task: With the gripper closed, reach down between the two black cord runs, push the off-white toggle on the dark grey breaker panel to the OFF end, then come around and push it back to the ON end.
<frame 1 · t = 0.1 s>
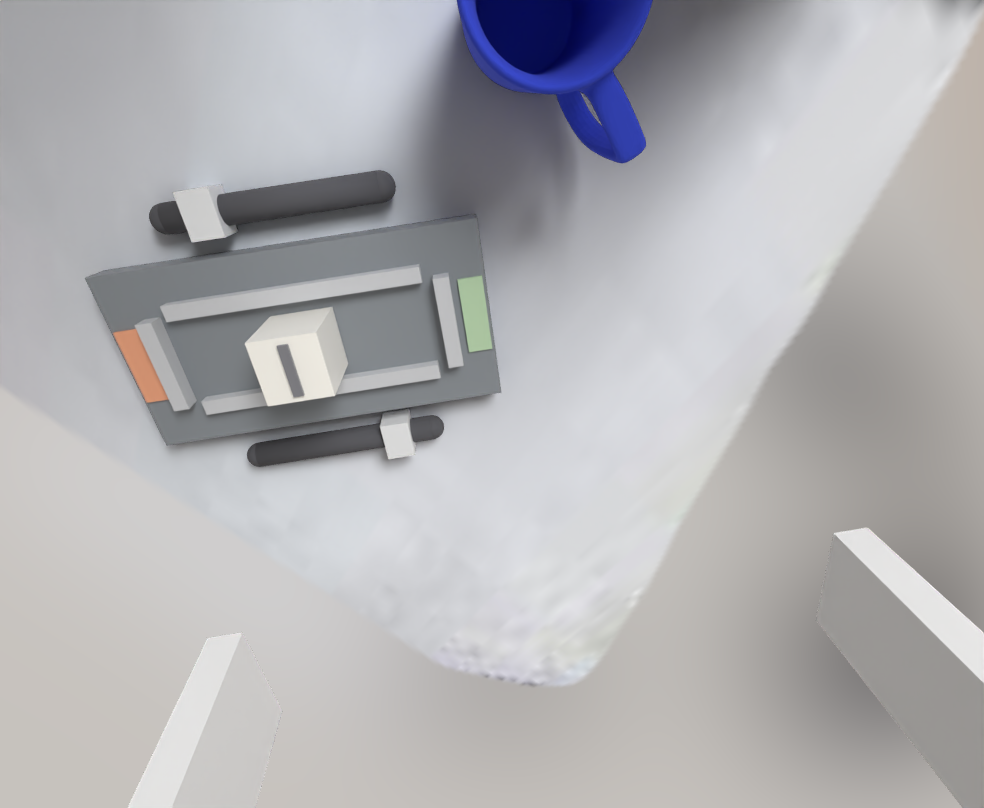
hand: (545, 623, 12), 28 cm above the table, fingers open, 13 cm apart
toggle: (301, 355, 33), point 5 cm above the table, slide at 0.0 cm
mug: (539, 57, 31), on the table
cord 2: (348, 434, 41), on the table
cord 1: (278, 201, 33), on the table
panel: (316, 330, 37), on the table
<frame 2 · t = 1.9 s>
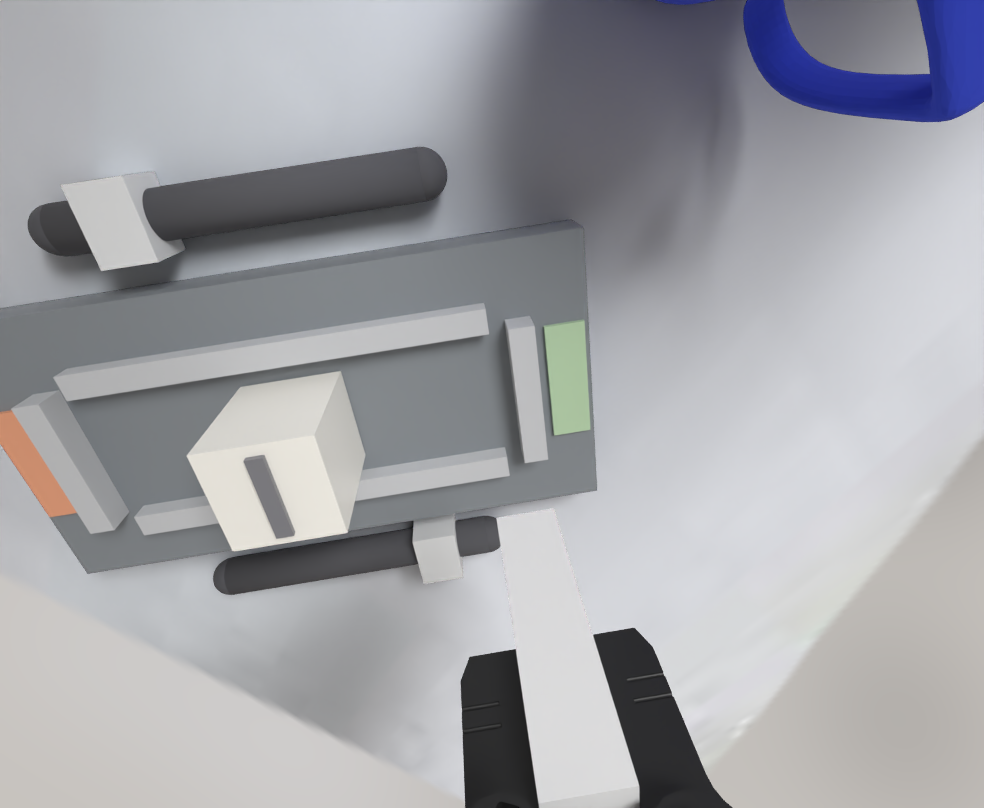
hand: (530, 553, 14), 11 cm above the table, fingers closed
toggle: (289, 456, 20), point 5 cm above the table, slide at 0.0 cm
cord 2: (363, 542, 28), on the table
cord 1: (250, 199, 20), on the table
panel: (316, 399, 24), on the table
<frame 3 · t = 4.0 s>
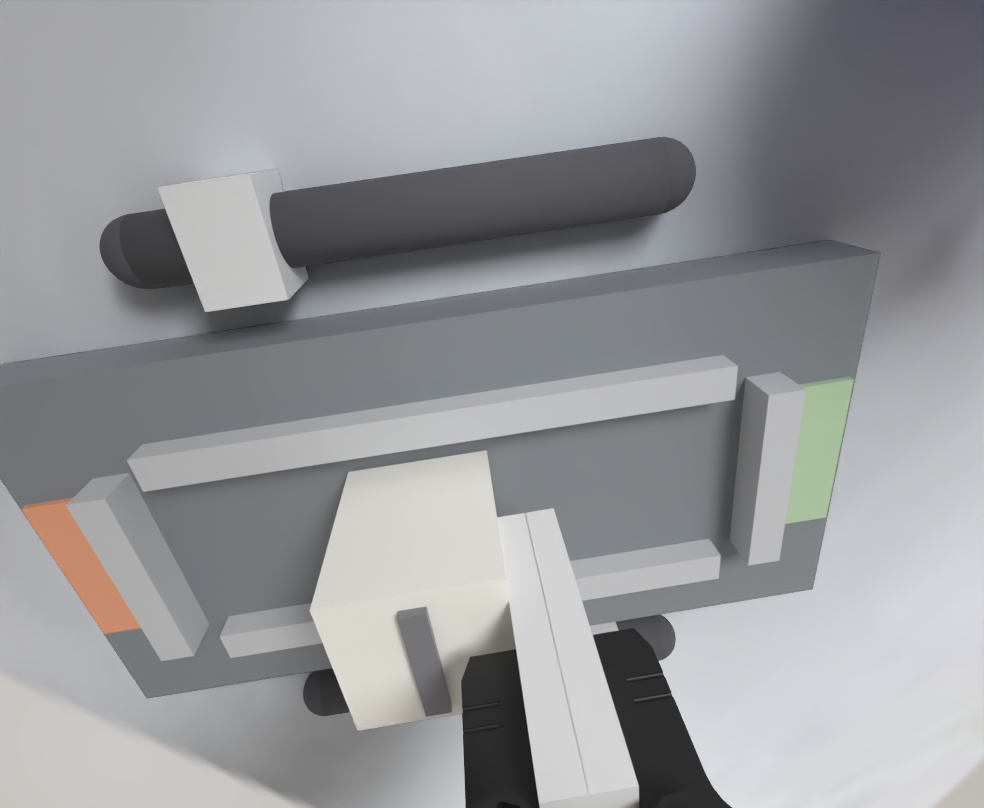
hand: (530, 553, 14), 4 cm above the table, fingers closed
toggle: (428, 579, 14), point 5 cm above the table, slide at -0.9 cm, touching gripper
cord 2: (488, 643, 22), on the table
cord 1: (405, 209, 14), on the table
panel: (456, 472, 18), on the table
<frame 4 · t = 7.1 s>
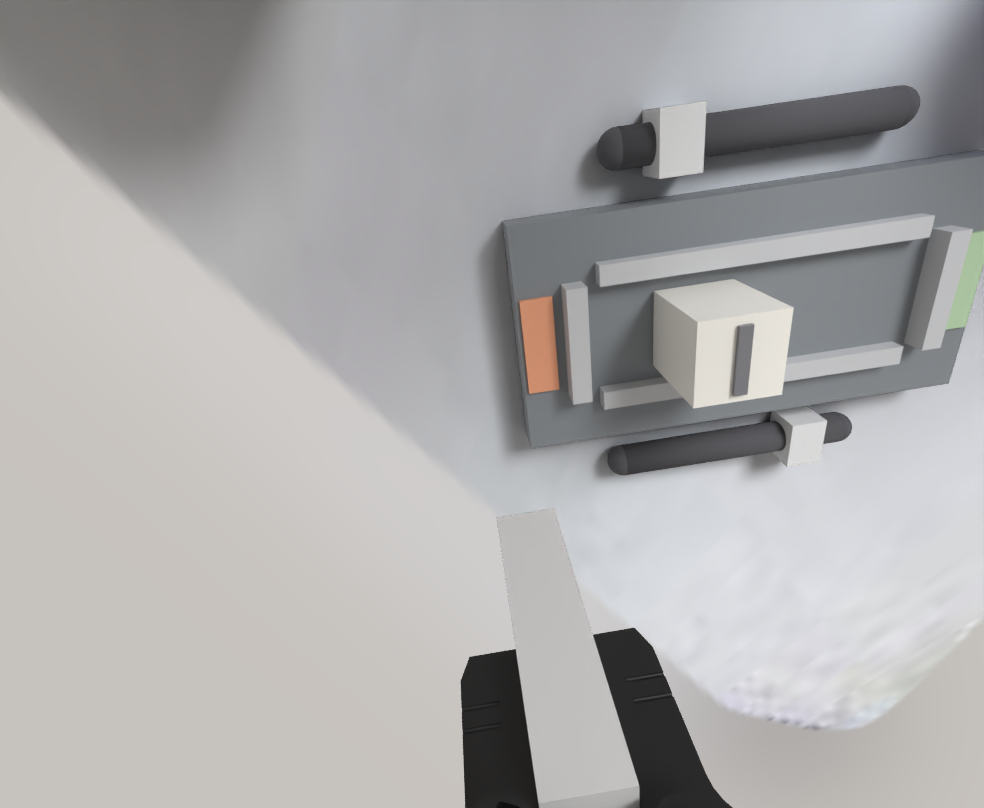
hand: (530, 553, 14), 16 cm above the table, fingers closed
toggle: (715, 340, 25), point 5 cm above the table, slide at -3.2 cm
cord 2: (721, 435, 33), on the table
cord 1: (746, 128, 25), on the table
panel: (732, 302, 29), on the table
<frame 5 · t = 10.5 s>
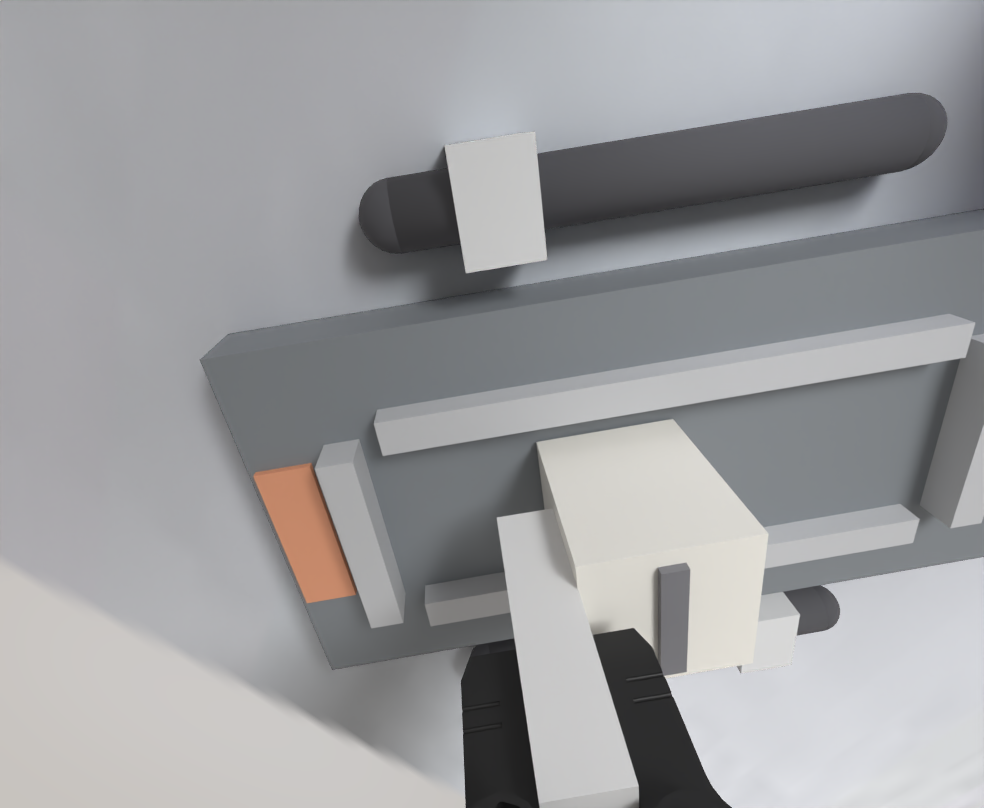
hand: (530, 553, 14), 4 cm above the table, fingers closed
toggle: (635, 544, 14), point 5 cm above the table, slide at -1.8 cm, touching gripper
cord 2: (645, 616, 22), on the table
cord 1: (637, 173, 14), on the table
panel: (642, 441, 18), on the table
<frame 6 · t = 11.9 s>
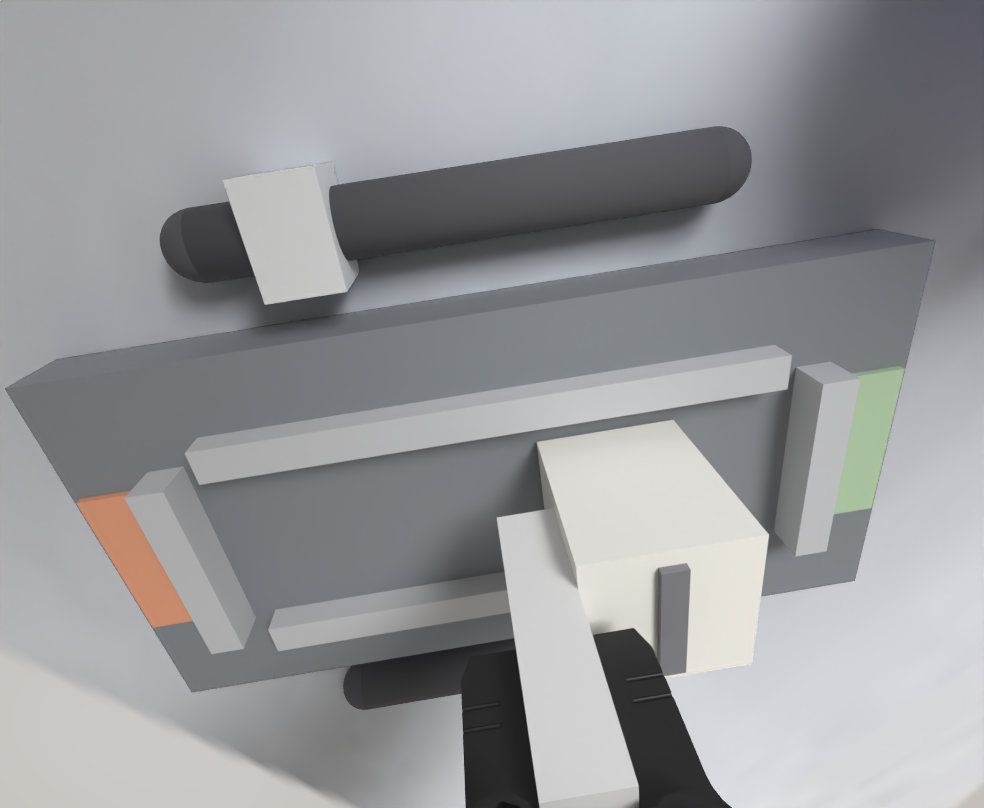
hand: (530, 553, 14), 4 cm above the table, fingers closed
toggle: (635, 545, 14), point 5 cm above the table, slide at 3.1 cm, touching gripper
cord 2: (525, 637, 22), on the table
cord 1: (458, 202, 14), on the table
panel: (499, 466, 18), on the table
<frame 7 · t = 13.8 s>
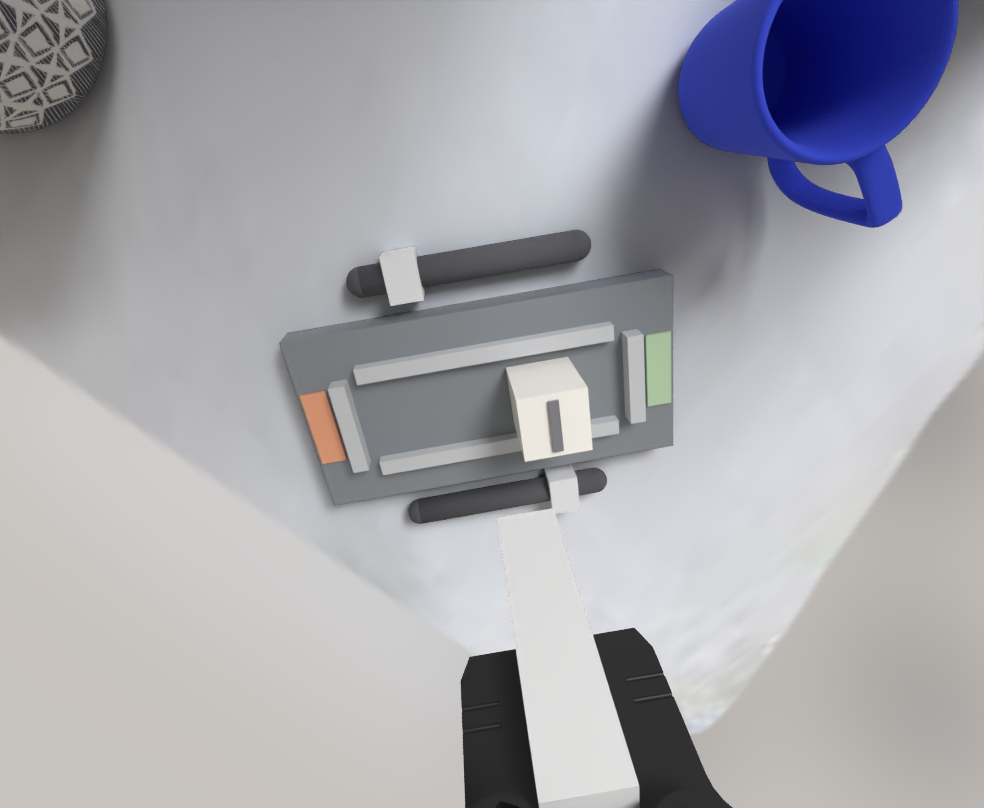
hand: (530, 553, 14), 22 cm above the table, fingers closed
toggle: (547, 407, 32), point 5 cm above the table, slide at 3.2 cm
mug: (741, 115, 31), on the table
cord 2: (506, 488, 40), on the table
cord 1: (468, 261, 33), on the table
panel: (489, 386, 36), on the table
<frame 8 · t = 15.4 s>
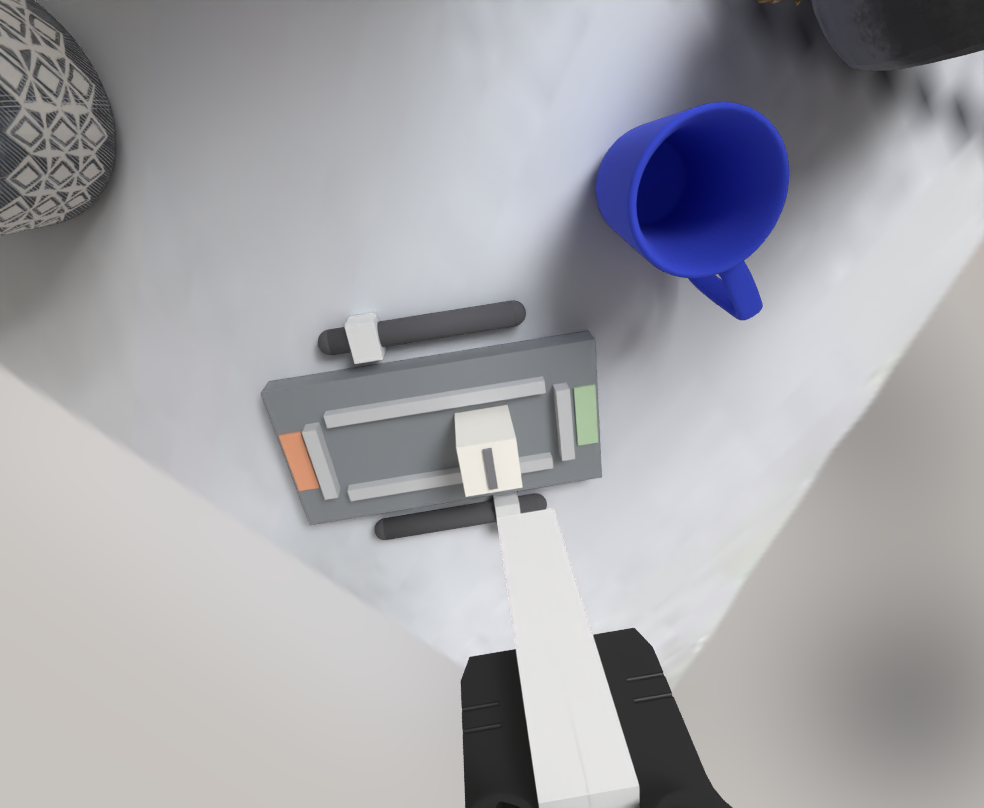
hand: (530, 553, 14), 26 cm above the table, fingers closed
toggle: (487, 449, 38), point 5 cm above the table, slide at 3.2 cm
mug: (652, 207, 36), on the table
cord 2: (460, 510, 46), on the table
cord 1: (422, 323, 38), on the table
planter: (9, 108, 31), on the table
panel: (443, 425, 42), on the table
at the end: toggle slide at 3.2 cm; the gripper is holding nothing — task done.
